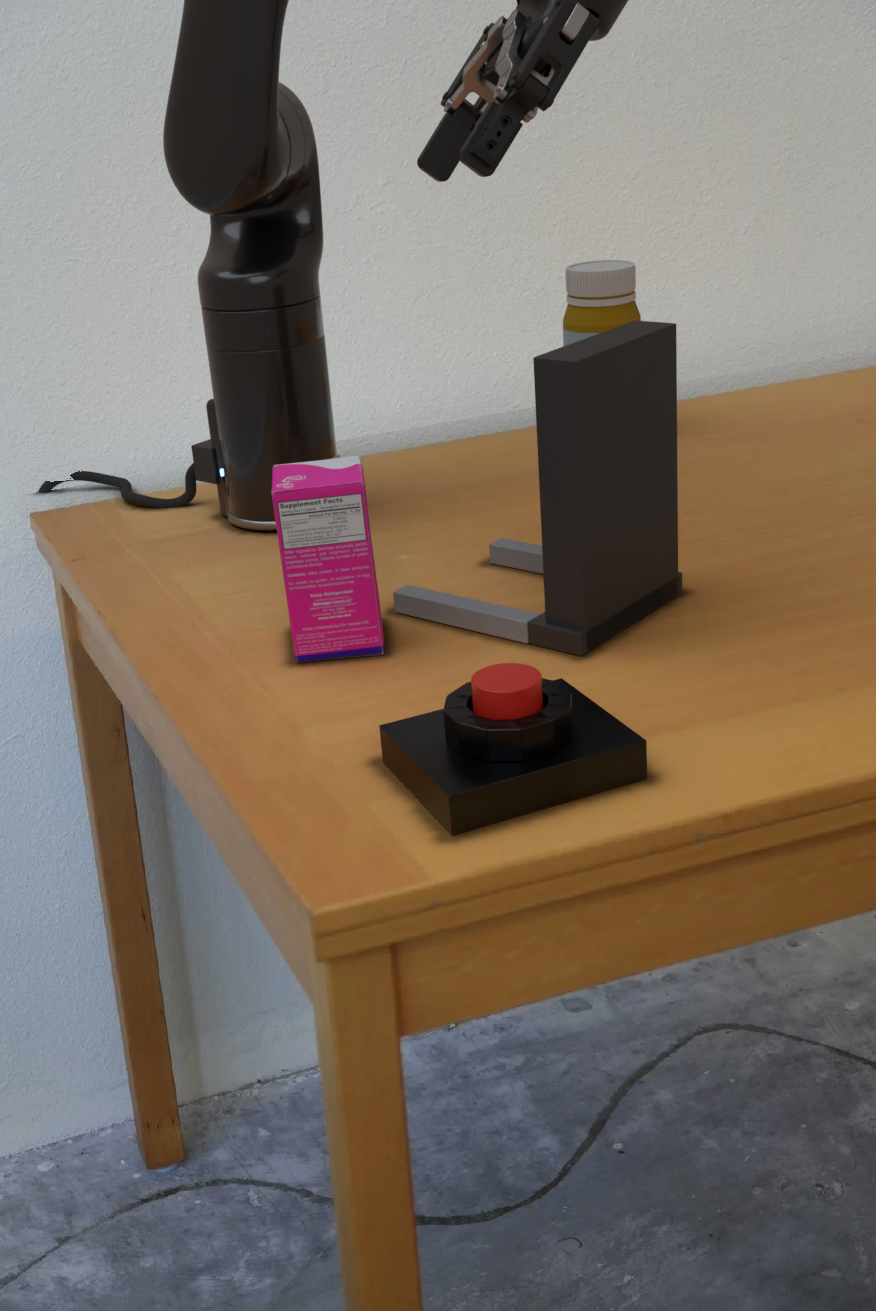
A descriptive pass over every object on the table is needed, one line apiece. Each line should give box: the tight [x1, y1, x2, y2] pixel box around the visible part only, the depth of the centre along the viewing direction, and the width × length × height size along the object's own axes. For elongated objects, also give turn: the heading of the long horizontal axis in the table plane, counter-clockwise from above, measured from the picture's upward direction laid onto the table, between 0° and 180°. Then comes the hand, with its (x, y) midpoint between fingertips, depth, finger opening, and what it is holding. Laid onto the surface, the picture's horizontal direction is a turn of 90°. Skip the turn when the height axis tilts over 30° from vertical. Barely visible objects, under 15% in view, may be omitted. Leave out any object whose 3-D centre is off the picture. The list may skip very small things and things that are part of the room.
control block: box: [379, 677, 648, 836], centre depth 76 cm, size 11×9×4 cm
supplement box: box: [272, 455, 385, 664], centre depth 92 cm, size 6×6×12 cm
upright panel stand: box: [392, 320, 683, 657], centre depth 95 cm, size 15×12×18 cm
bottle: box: [562, 259, 642, 347], centre depth 134 cm, size 7×7×15 cm
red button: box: [470, 662, 543, 720], centre depth 75 cm, size 4×4×2 cm
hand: (450, 171), depth 89 cm, fingers open, 8 cm apart
